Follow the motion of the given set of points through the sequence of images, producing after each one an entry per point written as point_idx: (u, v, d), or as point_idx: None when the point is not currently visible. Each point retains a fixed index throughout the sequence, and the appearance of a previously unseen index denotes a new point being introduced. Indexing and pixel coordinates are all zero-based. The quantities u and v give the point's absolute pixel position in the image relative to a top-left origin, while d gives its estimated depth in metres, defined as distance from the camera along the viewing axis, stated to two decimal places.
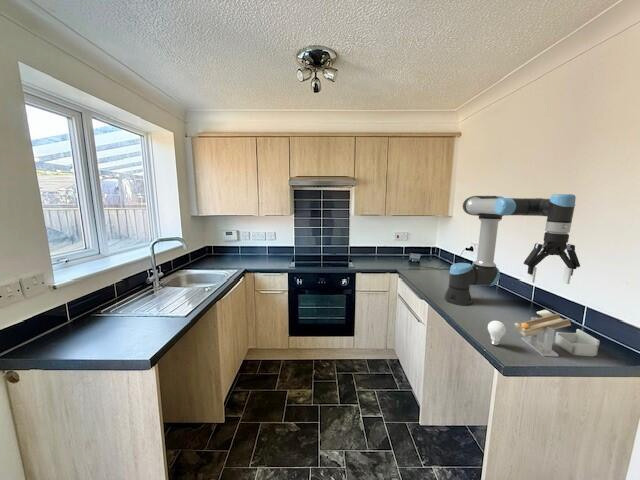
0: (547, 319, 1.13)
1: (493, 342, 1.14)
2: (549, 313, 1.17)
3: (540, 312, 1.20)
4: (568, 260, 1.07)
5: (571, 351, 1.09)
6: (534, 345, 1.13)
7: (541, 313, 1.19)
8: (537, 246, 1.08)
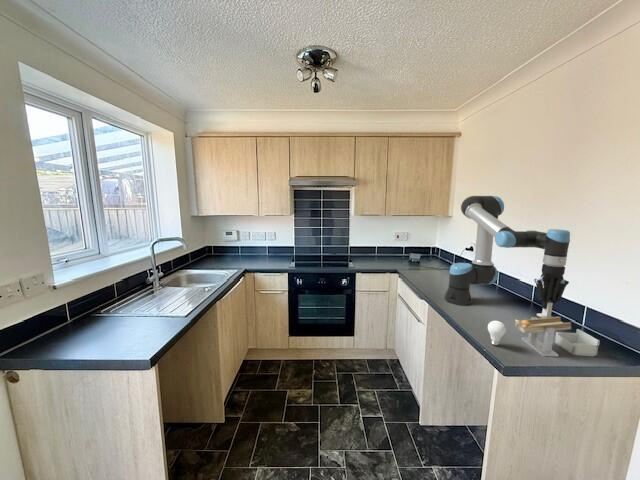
0: (548, 320, 1.13)
1: (493, 342, 1.14)
2: None
3: (540, 314, 1.20)
4: (555, 293, 1.15)
5: (571, 351, 1.09)
6: (534, 345, 1.13)
7: (541, 315, 1.19)
8: (537, 283, 1.16)
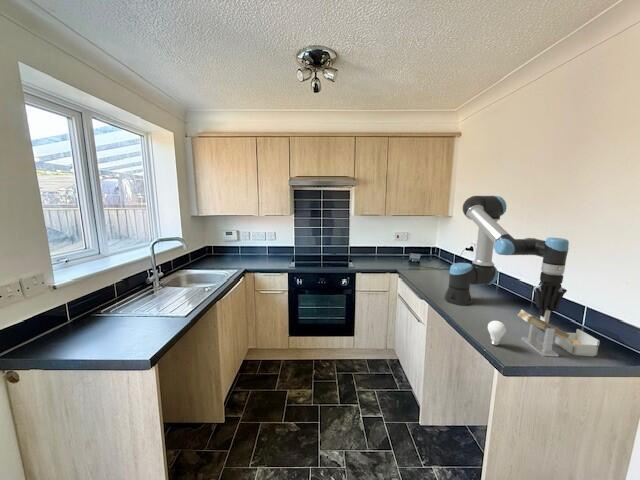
0: None
1: (493, 342, 1.14)
2: None
3: None
4: (552, 301, 1.16)
5: (571, 351, 1.09)
6: (534, 345, 1.13)
7: None
8: (535, 290, 1.16)
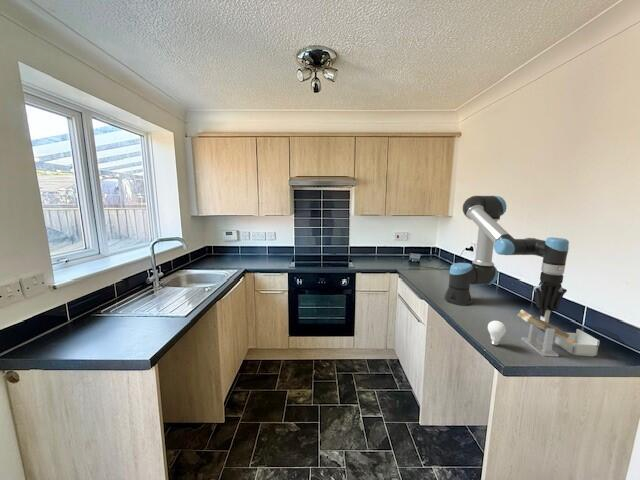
0: None
1: (493, 342, 1.14)
2: None
3: None
4: (552, 301, 1.16)
5: (571, 351, 1.09)
6: (534, 345, 1.13)
7: None
8: (536, 290, 1.16)
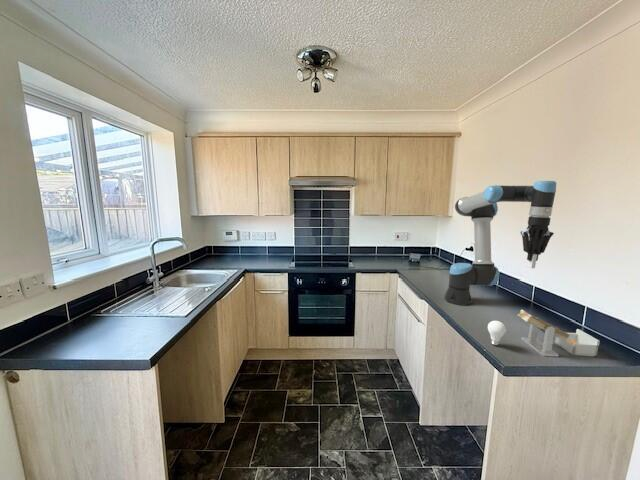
0: None
1: (493, 342, 1.14)
2: None
3: None
4: (539, 245, 1.17)
5: (571, 351, 1.09)
6: (534, 345, 1.13)
7: None
8: (523, 234, 1.17)
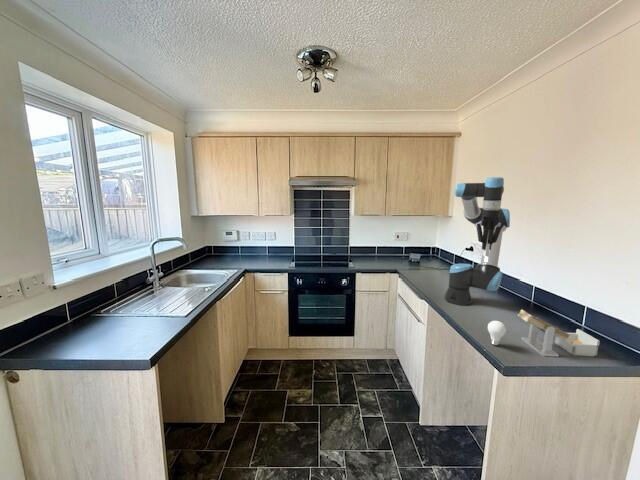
0: None
1: (493, 342, 1.14)
2: None
3: None
4: (492, 235, 1.30)
5: (571, 351, 1.09)
6: (534, 345, 1.13)
7: None
8: (477, 226, 1.31)
